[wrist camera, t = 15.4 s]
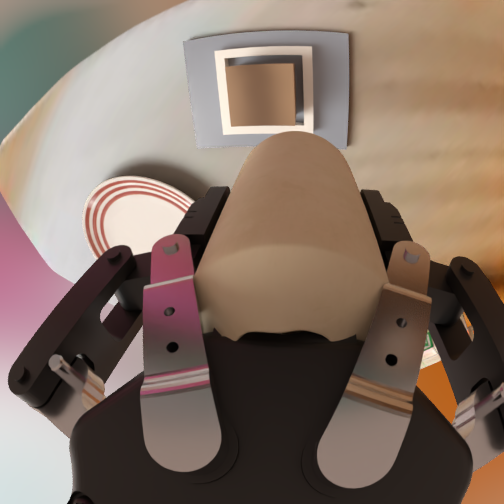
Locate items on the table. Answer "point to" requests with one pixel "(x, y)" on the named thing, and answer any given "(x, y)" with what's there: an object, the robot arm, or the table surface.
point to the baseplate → (268, 52)
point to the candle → (292, 247)
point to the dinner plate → (132, 213)
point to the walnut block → (262, 94)
